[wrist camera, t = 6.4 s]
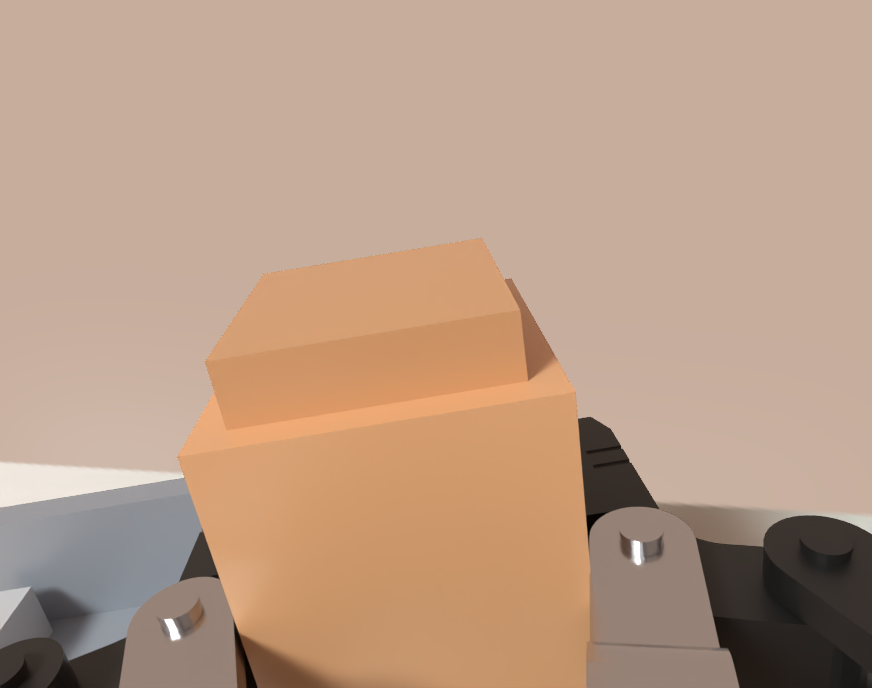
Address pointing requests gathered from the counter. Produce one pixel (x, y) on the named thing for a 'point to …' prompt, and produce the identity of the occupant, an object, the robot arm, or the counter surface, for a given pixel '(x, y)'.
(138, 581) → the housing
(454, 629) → the block
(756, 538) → the counter surface
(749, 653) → the robot arm
